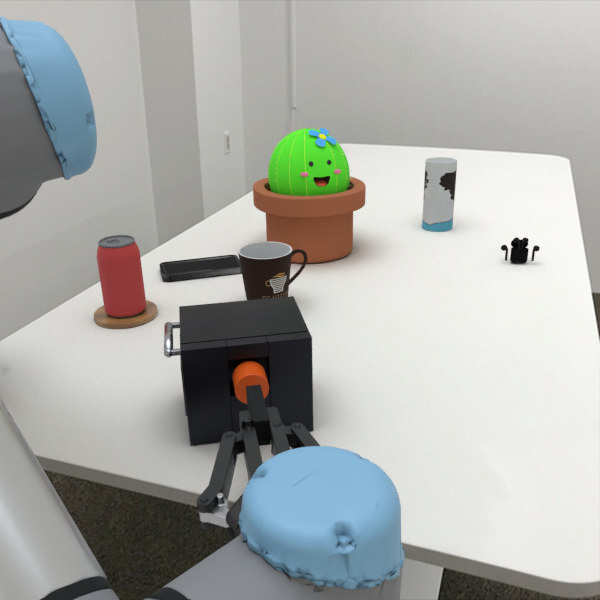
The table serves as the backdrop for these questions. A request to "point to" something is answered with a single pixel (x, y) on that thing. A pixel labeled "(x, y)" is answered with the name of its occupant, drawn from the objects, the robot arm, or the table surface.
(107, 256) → the beer can
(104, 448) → the table surface
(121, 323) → the wooden coaster
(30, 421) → the table surface
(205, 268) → the phone
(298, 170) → the potted cactus
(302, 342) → the black drawer box
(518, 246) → the wireless earbuds
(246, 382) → the button
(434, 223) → the white patterned cylinder
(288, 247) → the coffee mug
